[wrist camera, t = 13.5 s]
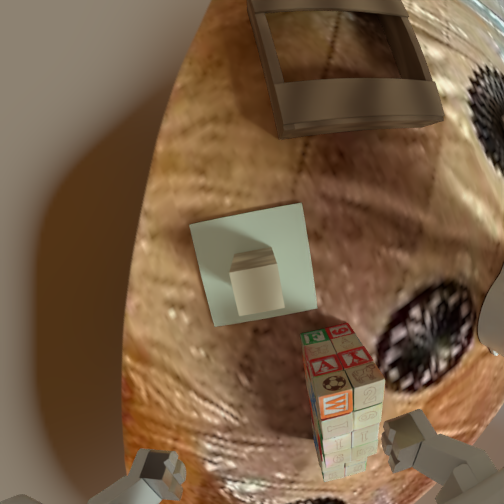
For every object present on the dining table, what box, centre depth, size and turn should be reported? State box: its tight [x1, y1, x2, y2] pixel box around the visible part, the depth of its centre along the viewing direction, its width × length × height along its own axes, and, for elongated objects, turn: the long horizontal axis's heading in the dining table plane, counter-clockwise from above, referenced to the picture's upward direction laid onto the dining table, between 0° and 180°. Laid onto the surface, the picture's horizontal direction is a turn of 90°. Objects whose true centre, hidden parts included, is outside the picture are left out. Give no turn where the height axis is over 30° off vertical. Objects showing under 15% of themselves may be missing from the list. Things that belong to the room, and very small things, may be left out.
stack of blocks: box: [300, 323, 385, 482], centre depth 29 cm, size 21×6×12 cm, turn 11°
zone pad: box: [189, 203, 317, 327], centre depth 31 cm, size 12×12×1 cm
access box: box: [247, 0, 445, 140], centre depth 24 cm, size 18×18×5 cm
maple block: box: [229, 247, 285, 316], centre depth 27 cm, size 4×4×7 cm
